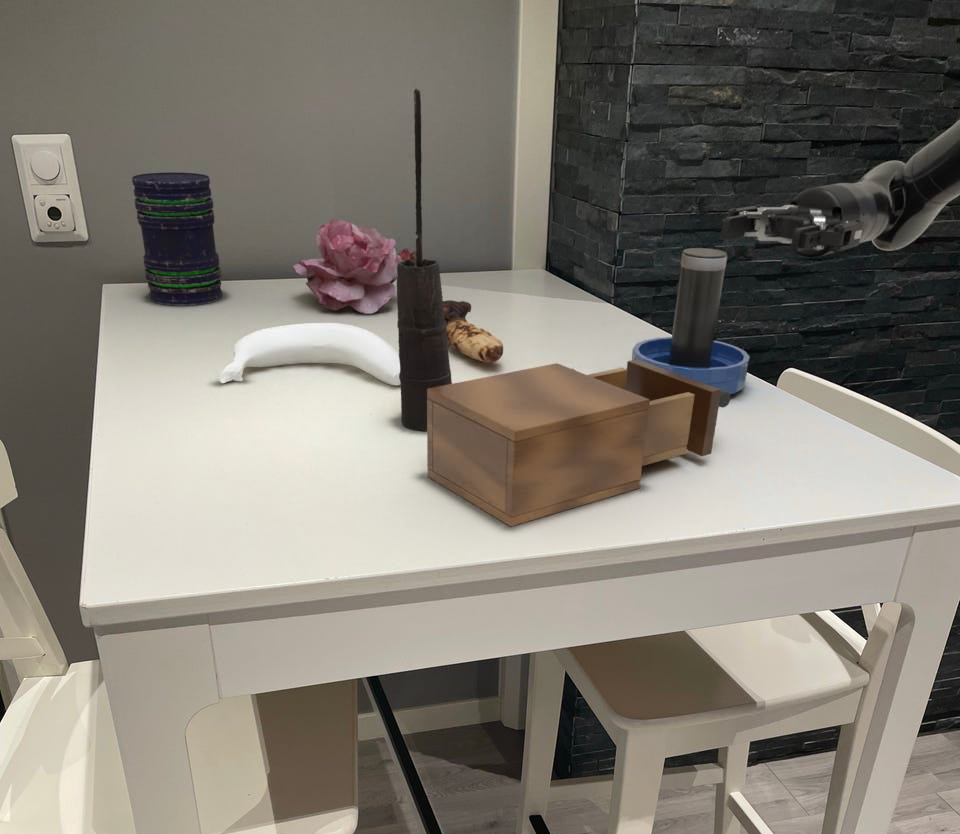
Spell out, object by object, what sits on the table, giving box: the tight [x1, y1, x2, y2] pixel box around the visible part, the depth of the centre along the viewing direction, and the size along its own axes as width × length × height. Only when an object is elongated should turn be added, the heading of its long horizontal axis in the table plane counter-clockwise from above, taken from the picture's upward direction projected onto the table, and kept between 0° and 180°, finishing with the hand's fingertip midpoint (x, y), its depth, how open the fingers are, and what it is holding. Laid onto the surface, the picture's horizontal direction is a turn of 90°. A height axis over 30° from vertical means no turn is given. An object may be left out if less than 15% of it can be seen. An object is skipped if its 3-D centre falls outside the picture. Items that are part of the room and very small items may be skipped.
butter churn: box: [396, 88, 453, 432], centre depth 87 cm, size 9×10×28 cm
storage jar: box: [131, 171, 223, 307], centre depth 129 cm, size 10×10×15 cm
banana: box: [218, 322, 401, 386], centre depth 103 cm, size 5×19×15 cm
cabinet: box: [426, 362, 650, 527], centre depth 79 cm, size 14×12×8 cm
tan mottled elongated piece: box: [443, 299, 504, 363], centre depth 112 cm, size 9×5×18 cm
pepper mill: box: [668, 247, 728, 368], centre depth 102 cm, size 4×4×13 cm
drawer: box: [587, 359, 732, 467], centre depth 85 cm, size 17×10×6 cm, turn 126°
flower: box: [292, 218, 411, 315], centre depth 130 cm, size 15×15×10 cm
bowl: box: [631, 336, 751, 395], centre depth 104 cm, size 12×12×4 cm
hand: (759, 234), depth 104 cm, fingers open, 8 cm apart
